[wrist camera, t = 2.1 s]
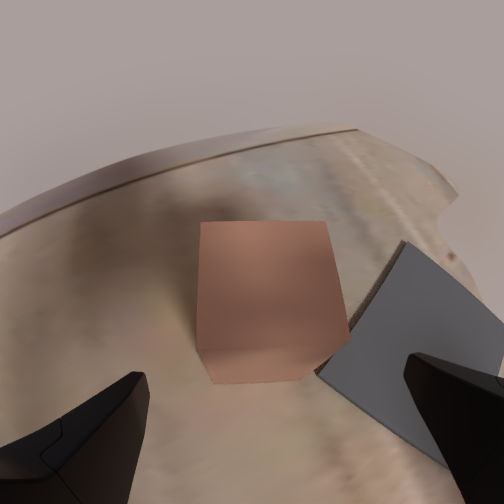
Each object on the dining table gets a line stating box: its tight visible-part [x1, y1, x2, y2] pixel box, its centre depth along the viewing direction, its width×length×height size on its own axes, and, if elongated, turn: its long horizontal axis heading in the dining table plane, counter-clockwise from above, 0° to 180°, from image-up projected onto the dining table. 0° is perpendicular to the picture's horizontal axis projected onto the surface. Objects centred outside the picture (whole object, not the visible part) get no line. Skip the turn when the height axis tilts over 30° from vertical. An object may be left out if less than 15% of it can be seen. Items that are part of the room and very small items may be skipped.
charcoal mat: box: [317, 242, 504, 469], centre depth 20 cm, size 16×16×1 cm
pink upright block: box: [196, 221, 351, 384], centre depth 16 cm, size 6×6×10 cm
